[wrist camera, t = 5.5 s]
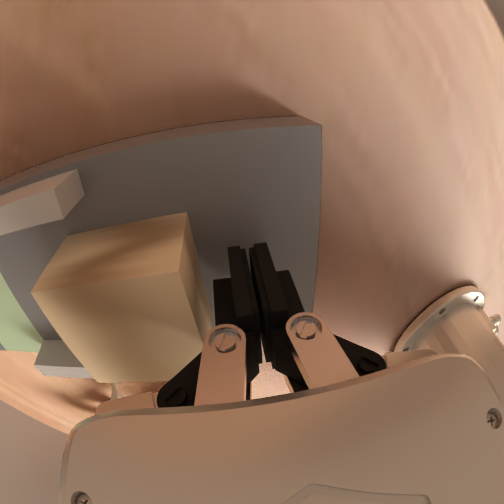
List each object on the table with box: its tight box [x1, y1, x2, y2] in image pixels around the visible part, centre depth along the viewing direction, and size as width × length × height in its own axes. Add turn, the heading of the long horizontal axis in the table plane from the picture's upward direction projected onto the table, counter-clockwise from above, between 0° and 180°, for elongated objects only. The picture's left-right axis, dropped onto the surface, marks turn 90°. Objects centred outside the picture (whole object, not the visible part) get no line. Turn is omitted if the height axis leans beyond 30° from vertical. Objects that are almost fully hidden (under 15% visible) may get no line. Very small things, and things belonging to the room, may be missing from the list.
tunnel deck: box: [0, 116, 322, 378], centre depth 13 cm, size 31×12×5 cm, turn 94°
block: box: [31, 212, 213, 383], centre depth 11 cm, size 6×6×4 cm
